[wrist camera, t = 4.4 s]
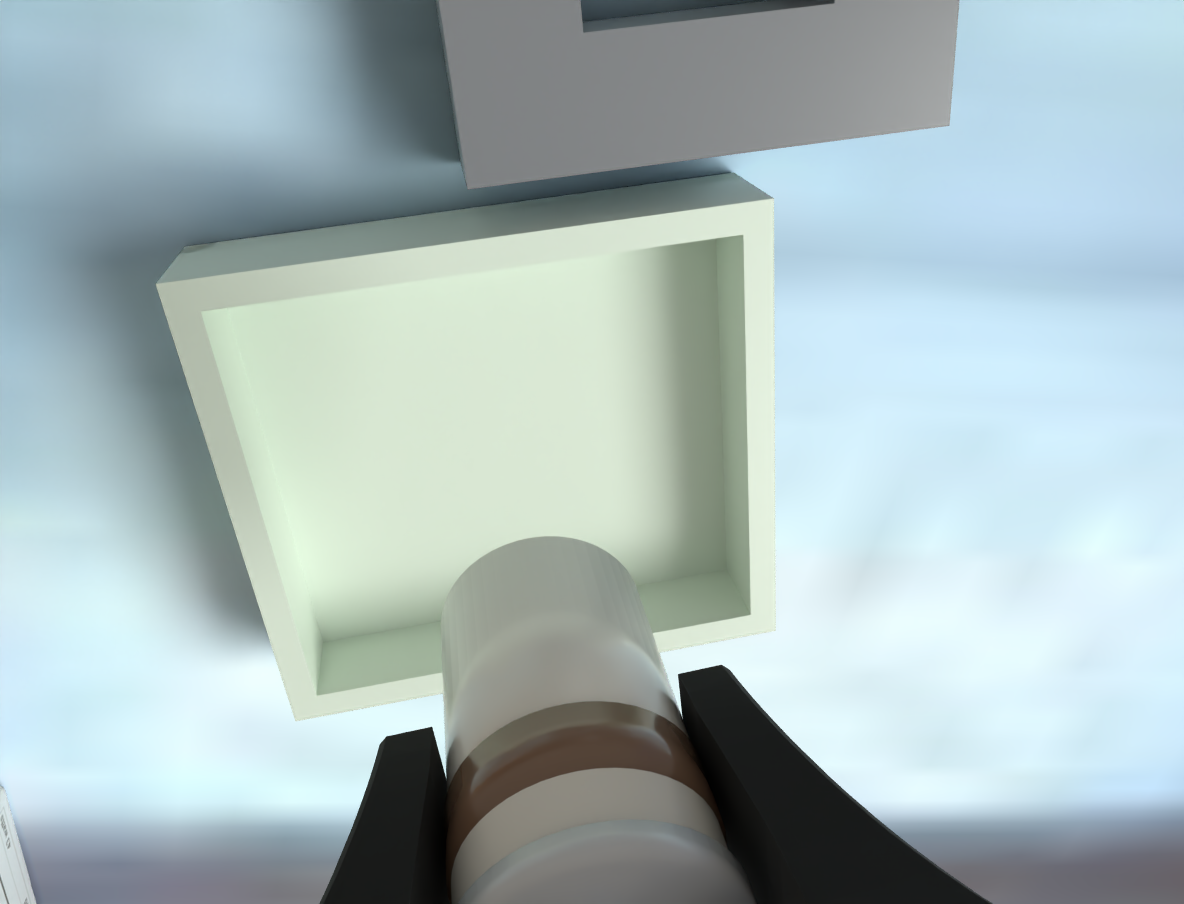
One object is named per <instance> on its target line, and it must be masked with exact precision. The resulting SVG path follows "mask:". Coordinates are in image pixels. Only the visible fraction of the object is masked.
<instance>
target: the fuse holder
mask: <svg viewBox="0 0 1184 904" xmlns="http://www.w3.org/2000/svg"><path fill="white" fill-rule="evenodd" d="M436 6H437V13H438V19H439V26H440V32H441V39H442V45H443V52H444V58H445V65H446V71H447V77H448V84H449V90H450V97H451V103H452V110H453V116H454V123H455V129H456V136H457V142H458V149H459V155H460V161H461V166H462V170H463V174H464V177H465V181H466V185H467V189H475V188H483V187H491V186H498V185H506V184H513V183H521V182H528V181H536V180H543V179H551V178H558V177H566V176H573V175H581V174H589V173H596V172H604V171H611V170H619V169H626V168H634V167H641V166H649V165H656V164H664V163H671V162H679V161H687V160H694V159H702V158H709V157H717V156H724V155H732V154H739V153H747V152H754V151H762V150H769V149H777V148H785V147H792V146H800V145H807V144H815V143H822V142H830V141H837V140H845V139H852V138H860V137H868V136H875V135H883V134H890V133H898V132H905V131H913V130H920V129H928V128H935V127H943V126H949V124H950V112H951V99H952V86H953V74H954V61H955V48H956V36H957V23H958V10H959V0H768V1H759V2H750V3H742V4H733V5H724V6H716V7H707V8H698V9H690V10H681V11H672V12H663V13H655V14H646V15H637V16H629V17H620V18H611V19H603V20H594V21H585V22H582V12H581V1H580V0H436Z"/></svg>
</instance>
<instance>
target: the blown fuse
mask: <svg viewBox="0 0 1184 904" xmlns="http://www.w3.org/2000/svg"><path fill="white" fill-rule="evenodd" d="M441 652H442V677H443V701H444V726H445V751H446V776H447V795H446V799H445V806H444V831H445V859H446V885H447V893H448V899H449V902H450V904H757V902H756V899H755V897H754V894H753V891H752V888H751V886H750V883H749V880H748V877H747V875H746V873H745V871H744V869H743V867H742V866H741V864H740V862H739V861H738V860H737V859H736V858H735V856H734V855H733V854H732V853H731V852H730V851H729V850H728V848H727V839H726V830H725V827H724V824H723V821H722V818H721V815H720V812H719V809H718V806H717V804H716V801H715V798H714V795H713V792H712V789H711V787H710V784H709V781H708V778H707V775H706V773H705V770H704V767H703V764H702V761H701V758H700V756H699V754H698V752H697V750H696V748H695V746H694V744H693V743H692V742H691V740H690V739H689V736H688V733H687V731H686V728H685V725H684V722H683V719H682V716H681V713H680V711H679V708H678V705H677V702H676V699H675V696H674V693H673V690H672V688H671V685H670V682H669V679H668V676H667V673H666V670H665V668H664V665H663V662H662V659H661V656H660V653H659V650H658V648H657V645H656V642H655V639H654V636H653V633H652V630H651V628H650V625H649V622H648V619H647V616H646V613H645V610H644V608H643V605H642V602H641V599H640V596H639V593H638V590H637V587H636V585H635V583H634V581H633V579H632V577H631V575H630V574H629V572H628V571H627V570H626V568H625V567H624V566H623V565H622V564H621V563H620V562H619V561H618V560H617V559H616V558H615V557H614V556H612V555H611V554H610V553H608V552H607V551H605V550H603V549H601V548H599V547H598V546H596V545H593V544H590V543H588V542H585V541H582V540H578V539H574V538H567V537H559V536H542V537H533V538H527V539H523V540H518V541H515V542H512V543H509V544H506V545H503V546H501V547H499V548H497V549H494V550H492V551H491V552H489V553H487V554H486V555H484V556H482V557H481V558H479V559H478V560H477V561H476V562H474V563H473V564H472V565H470V566H469V567H468V568H467V569H466V570H465V571H464V572H463V573H462V574H461V576H460V577H459V578H458V579H457V581H456V582H455V583H454V585H453V586H452V588H451V590H450V592H449V593H448V595H447V598H446V601H445V603H444V606H443V610H442V615H441Z"/></svg>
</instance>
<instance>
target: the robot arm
mask: <svg viewBox="0 0 1184 904" xmlns="http://www.w3.org/2000/svg"><path fill="white" fill-rule="evenodd" d="M678 678H679V688H680V698H681V708H682V717H683V722H684V725H685V728H686V731H687V733H688V736H689V739H690V740H691V742H692V743H693V744H694V746H695V748H696V750H697V752H698V754H699V756H700V758H701V761H702V764H703V767H704V770H705V773H706V775H707V778H708V781H709V784H710V787H711V789H712V792H713V795H714V798H715V801H716V804H717V806H718V809H719V812H720V815H721V818H722V821H723V824H724V827H725V830H726V839H727V848H728V850H729V851H730V852H731V853H732V854H733V855H734V856H735V858H736V859H737V860H738V861H739V862H740V864H741V866H742V867H743V869H744V871H745V873H746V875H747V877H748V880H749V883H750V886H751V888H752V891H753V894H754V897H755V899H756V902H757V904H992V903H991V902H989V901H988V900H986V899H984V898H983V897H981V896H980V895H978V894H977V893H975V892H974V891H973V890H971V889H970V888H968V887H967V886H965V885H964V884H963V883H961V882H960V881H958V880H957V879H955V878H954V877H953V876H951V875H950V874H948V873H947V872H945V871H944V870H943V869H941V868H940V867H938V866H937V865H936V864H934V863H933V862H932V861H930V860H929V859H928V858H926V857H925V856H924V855H922V854H921V853H920V852H918V851H917V850H916V849H914V848H913V847H912V846H910V845H909V844H908V843H906V842H905V841H904V840H903V839H901V838H900V837H899V836H898V835H896V834H895V833H894V832H893V831H891V830H890V829H889V828H888V827H886V826H885V825H884V824H883V823H882V822H880V821H879V820H878V819H877V818H876V817H874V816H873V815H872V814H871V813H870V812H869V811H867V810H866V809H865V808H864V807H863V806H862V805H860V804H859V803H858V802H857V801H856V800H855V799H854V798H852V797H851V796H850V795H849V794H848V793H847V792H846V791H845V790H843V789H842V788H841V787H840V786H839V785H838V784H837V783H836V782H835V781H834V780H832V779H831V778H830V777H829V776H828V775H827V774H826V773H825V772H824V771H823V770H822V769H821V768H820V767H819V766H818V765H817V764H816V763H815V762H814V761H813V760H812V759H811V758H810V757H809V756H808V755H806V754H805V753H804V752H803V751H802V750H801V749H800V748H799V747H798V746H797V745H796V744H795V743H794V742H793V741H792V740H791V739H790V738H789V737H788V736H787V735H786V734H785V732H784V731H783V730H782V729H781V728H780V727H779V726H778V725H777V724H776V723H775V722H774V721H773V720H772V719H771V718H770V716H769V715H768V714H767V713H766V712H765V711H764V710H763V709H762V708H761V707H760V705H759V704H758V703H757V702H756V701H755V700H754V699H753V698H752V696H751V695H750V694H749V693H748V692H747V691H746V689H745V688H744V687H743V686H742V685H741V683H740V682H739V681H738V680H737V679H736V677H735V676H734V675H733V673H732V672H731V671H730V670H729V669H727V668H726V667H724V666H723V665H719V666H714V667H709V668H705V669H700V670H695V671H691V672H686V673H681V674H678ZM446 795H447V780H446V776H445V773H444V769H443V765H442V762H441V758H440V754H439V751H438V747H437V743H436V740H435V736H434V732H433V728H432V727H429V728H424V729H420V730H415V731H410V732H406V733H401V734H396V735H392V736H387V737H386V738H385V739H384V740H383V741H382V743H381V744H380V745H379V749H378V753H377V756H376V760H375V763H374V767H373V770H372V773H371V776H370V779H369V782H368V785H367V788H366V791H365V794H364V797H363V800H362V802H361V805H360V808H359V811H358V813H357V816H356V819H355V821H354V824H353V827H352V829H351V832H350V834H349V836H348V839H347V841H346V844H345V846H344V849H343V851H342V853H341V856H340V858H339V861H338V863H337V866H336V868H335V870H334V873H333V875H332V878H331V880H330V882H329V884H328V887H327V889H326V891H325V893H324V895H323V897H322V899H321V901H320V904H450V902H449V899H448V893H447V885H446V859H445V831H444V806H445V799H446Z"/></svg>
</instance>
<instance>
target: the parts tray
mask: <svg viewBox="0 0 1184 904" xmlns="http://www.w3.org/2000/svg"><path fill="white" fill-rule="evenodd" d="M156 287H157V290H158V293H159V297H160V300H161V303H162V306H163V309H164V312H165V315H166V318H167V321H168V325H169V328H170V331H171V334H172V337H173V340H174V343H175V346H176V350H177V353H178V356H179V359H180V362H181V365H182V368H183V371H184V375H185V378H186V381H187V384H188V387H189V390H190V393H191V396H192V400H193V403H194V406H195V409H196V412H197V415H198V418H199V421H200V424H201V428H202V431H203V434H204V437H205V440H206V443H207V446H208V449H209V453H210V456H211V459H212V462H213V465H214V468H215V471H216V474H217V478H218V481H219V484H220V487H221V490H222V493H223V496H224V499H225V502H226V506H227V509H228V512H229V515H230V518H231V521H232V524H233V527H234V531H235V534H236V537H237V540H238V543H239V546H240V549H241V552H242V556H243V559H244V562H245V565H246V568H247V571H248V574H249V577H250V581H251V584H252V587H253V590H254V593H255V596H256V599H257V602H258V605H259V609H260V612H261V615H262V618H263V621H264V624H265V627H266V630H267V634H268V637H269V640H270V643H271V646H272V649H273V652H274V655H275V659H276V662H277V665H278V668H279V671H280V674H281V677H282V680H283V683H284V687H285V690H286V693H287V696H288V699H289V702H290V705H291V708H292V712H293V715H294V718H295V721H300V720H305V719H310V718H316V717H321V716H326V715H331V714H337V713H342V712H347V711H353V710H358V709H363V708H369V707H374V706H379V705H384V704H390V703H395V702H400V701H406V700H411V699H416V698H422V697H427V696H432V695H437V694H443V677H442V652H441V615H442V610H443V606H444V603H445V601H446V598H447V595H448V593H449V592H450V590H451V588H452V586H453V585H454V583H455V582H456V581H457V579H458V578H459V577H460V576H461V574H462V573H463V572H464V571H465V570H466V569H467V568H468V567H469V566H470V565H472V564H473V563H474V562H476V561H477V560H478V559H479V558H481V557H482V556H484V555H486V554H487V553H489V552H491V551H492V550H494V549H497V548H499V547H501V546H503V545H506V544H509V543H512V542H515V541H518V540H523V539H527V538H533V537H542V536H559V537H567V538H574V539H578V540H582V541H585V542H588V543H590V544H593V545H596V546H598V547H599V548H601V549H603V550H605V551H607V552H608V553H610V554H611V555H612V556H614V557H615V558H616V559H617V560H618V561H619V562H620V563H621V564H622V565H623V566H624V567H625V568H626V570H627V571H628V572H629V574H630V575H631V577H632V579H633V581H634V583H635V585H636V587H637V590H638V593H639V596H640V599H641V602H642V605H643V608H644V610H645V613H646V616H647V619H648V622H649V625H650V628H651V630H652V633H653V636H654V639H655V642H656V645H657V648H658V650H659V653H660V652H665V651H671V650H676V649H681V648H687V647H692V646H697V645H702V644H708V643H713V642H718V641H724V640H729V639H734V638H740V637H745V636H750V635H755V634H761V633H766V632H771V631H776V606H775V357H774V198H772V197H771V196H769V195H768V194H766V193H765V192H763V191H761V190H760V189H758V188H757V187H755V186H754V185H752V184H751V183H749V182H748V181H746V180H744V179H743V178H741V177H740V176H738V175H737V174H735V173H727V174H719V175H712V176H704V177H697V178H690V179H682V180H675V181H667V182H660V183H653V184H645V185H638V186H630V187H623V188H615V189H608V190H601V191H593V192H586V193H578V194H571V195H563V196H556V197H549V198H541V199H534V200H526V201H519V202H512V203H504V204H497V205H489V206H482V207H474V208H467V209H460V210H452V211H445V212H437V213H430V214H422V215H415V216H408V217H400V218H393V219H385V220H378V221H370V222H363V223H356V224H348V225H341V226H333V227H326V228H319V229H311V230H304V231H296V232H289V233H281V234H274V235H267V236H259V237H252V238H244V239H237V240H229V241H222V242H215V243H207V244H200V245H192V246H185V247H184V248H183V250H182V251H181V252H180V253H179V255H178V256H177V257H176V259H175V260H174V261H173V262H172V264H171V265H170V266H169V267H168V269H167V270H166V271H165V273H164V274H163V275H162V276H161V278H160V279H159V280H158V282H157V283H156Z"/></svg>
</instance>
